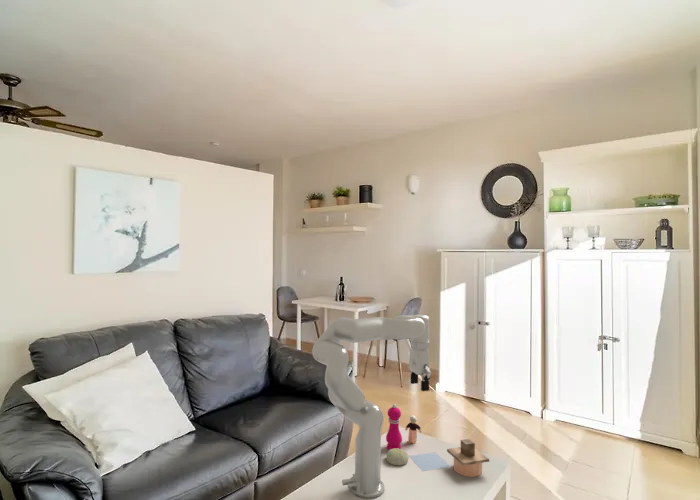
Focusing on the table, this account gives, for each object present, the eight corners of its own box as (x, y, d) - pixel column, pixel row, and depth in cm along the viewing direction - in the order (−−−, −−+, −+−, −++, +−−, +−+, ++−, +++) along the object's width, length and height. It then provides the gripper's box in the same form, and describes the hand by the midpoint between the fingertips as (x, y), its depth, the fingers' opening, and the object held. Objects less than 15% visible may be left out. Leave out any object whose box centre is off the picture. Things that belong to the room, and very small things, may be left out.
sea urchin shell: (405, 465, 163) (392, 447, 166) (392, 475, 165) (380, 458, 168) (413, 455, 171) (401, 439, 174) (401, 465, 173) (389, 449, 176)
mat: (422, 471, 161) (422, 471, 161) (408, 456, 174) (408, 455, 174) (451, 467, 165) (451, 466, 165) (435, 452, 178) (435, 452, 178)
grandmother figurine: (404, 444, 186) (405, 416, 186) (404, 440, 189) (405, 413, 190) (421, 445, 184) (421, 417, 185) (421, 441, 188) (421, 414, 189)
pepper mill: (389, 453, 176) (389, 407, 177) (383, 446, 183) (384, 402, 184) (404, 451, 178) (404, 406, 179) (398, 444, 185) (398, 400, 186)
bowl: (463, 478, 156) (463, 464, 157) (448, 465, 167) (448, 451, 167) (487, 475, 160) (487, 461, 160) (471, 461, 170) (471, 448, 170)
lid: (462, 465, 156) (462, 450, 156) (446, 451, 167) (447, 436, 168) (489, 461, 159) (489, 446, 160) (471, 447, 171) (471, 433, 171)
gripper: (402, 341, 172) (402, 381, 172) (421, 350, 156) (420, 394, 155) (418, 340, 174) (418, 380, 174) (438, 349, 158) (438, 392, 157)
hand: (419, 386), depth 165 cm, fingers open, 9 cm apart
